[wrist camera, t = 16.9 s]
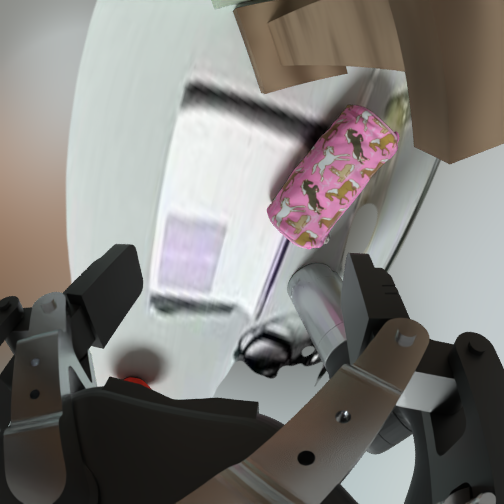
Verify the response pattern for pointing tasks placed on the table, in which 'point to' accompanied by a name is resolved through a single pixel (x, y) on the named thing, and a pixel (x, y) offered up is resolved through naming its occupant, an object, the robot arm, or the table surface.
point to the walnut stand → (394, 58)
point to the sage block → (226, 3)
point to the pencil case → (332, 176)
